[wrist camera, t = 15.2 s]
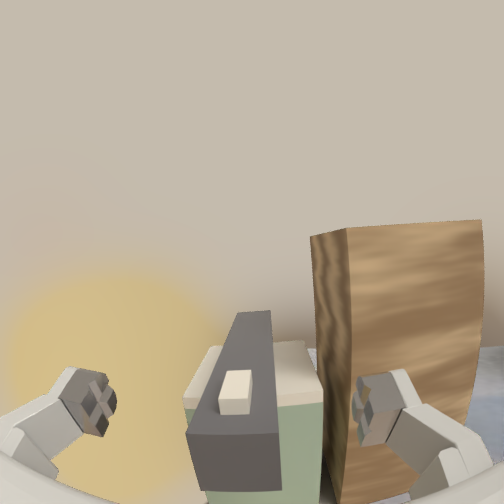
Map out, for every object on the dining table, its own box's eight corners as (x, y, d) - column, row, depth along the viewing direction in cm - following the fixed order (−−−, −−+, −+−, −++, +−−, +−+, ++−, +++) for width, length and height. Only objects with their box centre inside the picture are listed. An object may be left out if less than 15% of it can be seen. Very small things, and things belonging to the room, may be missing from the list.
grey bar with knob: (240, 343, 31) (236, 305, 31) (272, 341, 31) (269, 302, 31) (200, 490, 9) (181, 416, 9) (282, 490, 9) (277, 415, 9)
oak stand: (317, 428, 35) (309, 236, 34) (397, 412, 34) (401, 229, 34) (338, 509, 19) (346, 228, 18) (446, 477, 18) (481, 219, 18)
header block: (226, 450, 31) (210, 346, 31) (305, 446, 31) (303, 339, 31) (212, 516, 19) (182, 397, 19) (318, 512, 19) (323, 390, 19)
